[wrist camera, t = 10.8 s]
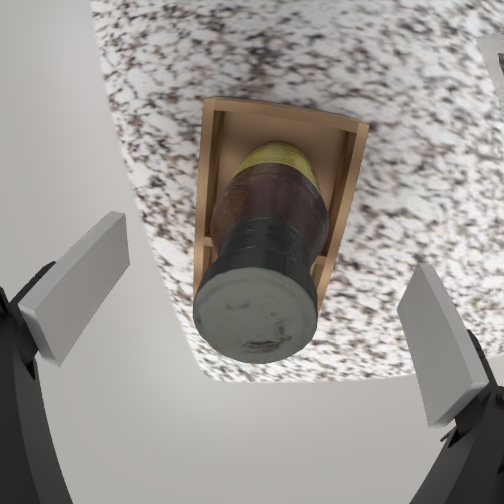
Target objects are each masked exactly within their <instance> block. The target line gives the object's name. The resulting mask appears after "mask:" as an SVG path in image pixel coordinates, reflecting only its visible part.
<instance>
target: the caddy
mask: <svg viewBox="0 0 504 504" xmlns="http://www.w3.org/2000/svg"><path fill="white" fill-rule="evenodd" d="M368 130H369V125H368V124H366V123H364V122H362V121H360V120H358V119H356V118H353V117H349V116H344V115H340V114H335V113H330V112H326V111H321V110H316V109H310V108H305V107H299V106H293V105H287V104H281V103H274V102H267V101H260V100H252V99H243V98H234V97H223V96H217V97H211V98H205V99H204V108H203V119H202V130H201V142H200V155H199V169H198V184H197V202H196V222H195V247H194V286H193V302H194V298H195V295H196V292H197V289H198V287H199V284H200V282H201V280H202V278H203V275H204V273H205V272H206V270H207V268H208V267H209V266H210V265H211V264H212V263H213V262H214V261H215V260H217V258H218V256H217V254H216V253H215V251H214V248H213V244H212V241H211V233H210V222H211V217H212V214H213V210H214V207H215V205H216V203H217V201H218V200H219V198H220V197H221V195H222V192H223V190H224V188H225V186H226V185H227V183H228V182H229V181H230V179H231V178H232V176H233V175H234V174H235V172H236V171H237V170H238V168H239V167H240V166H241V164H242V163H243V162H244V160H245V159H246V158H247V156H248V155H249V154H250V153H251V152H252V151H253V150H255V149H256V148H257V147H260V146H262V145H264V144H268V143H272V142H280V143H287V144H290V145H292V146H294V147H296V148H298V149H299V150H301V151H302V152H303V153H304V154H305V155H306V156H307V158H308V159H309V160H310V162H311V164H312V166H313V169H314V172H315V175H316V178H317V181H318V183H319V186H320V190H321V193H322V196H323V199H324V202H325V205H326V208H327V212H328V217H329V232H328V237H327V240H326V243H325V246H324V247H323V249H322V251H321V252H320V254H319V255H318V257H317V258H316V260H315V261H314V263H313V265H312V266H311V270H310V275H311V277H312V279H313V281H314V284H315V287H316V291H317V295H318V314H319V311H320V308H321V305H322V302H323V299H324V296H325V292H326V289H327V286H328V283H329V280H330V277H331V273H332V270H333V267H334V263H335V260H336V257H337V253H338V250H339V247H340V243H341V240H342V236H343V232H344V229H345V225H346V222H347V218H348V214H349V210H350V207H351V203H352V199H353V195H354V191H355V187H356V183H357V179H358V175H359V170H360V166H361V162H362V158H363V153H364V149H365V144H366V139H367V135H368Z"/></svg>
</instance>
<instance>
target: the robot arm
mask: <svg viewBox="0 0 504 504" xmlns="http://www.w3.org/2000/svg"><path fill="white" fill-rule="evenodd" d="M129 265H130V261H129V252H128V242H127V232H126V218H125V213H120V212H113V211H110V212H109V213H108V214H107V215H106V216H105V217H104V218H103V219H101V220H100V221H99V222H98V223H97V224H96V225H95V226H94V227H93V228H92V229H90V231H88V232H87V233H86V234H85V235H84V236H83V237H82V238H81V239H80V240H79V241H78V242H77V243H76V244H75V245H73V246H72V247H71V248H70V249H69V250H68V251H67V252H66V253H65V254H64V255H63V256H62V257H61V258H60V259H59V260H58V261H57V262H55V261H53V262H51V263H49V264H47V265H46V266H44V267H43V268H42V269H41V270H40V271H39V272H38V273H37V274H36V275H35V277H33V278H32V279H31V280H30V281H29V283H27V284H26V285H25V286H24V287H23V288H22V289H21V290H20V292H19V293H18V294H17V295H16V296H15V297H14V298H13V299H12V300H11V302H10V303H9V302H8V300H7V297H6V295H5V292H4V290H3V288H1V287H0V504H73V502H72V500H71V497H70V495H69V492H68V489H67V486H66V484H65V481H64V478H63V475H62V472H61V469H60V466H59V463H58V459H57V456H56V452H55V449H54V445H53V442H52V438H51V434H50V430H49V426H48V422H47V417H46V413H45V408H44V403H43V398H42V393H41V387H40V381H39V374H38V369H37V362H36V359H35V357H34V356H35V354H36V353H37V351H38V350H39V352H40V354H41V356H42V358H43V360H44V361H46V362H48V363H50V364H52V365H55V366H57V367H60V366H61V364H62V362H63V361H64V360H65V358H66V356H67V355H68V353H69V352H70V350H71V348H72V347H73V345H74V344H75V342H76V341H77V339H78V338H79V336H80V334H81V333H82V332H83V330H84V328H85V327H86V326H87V324H88V323H89V321H90V320H91V318H92V317H93V315H94V314H95V312H96V311H97V309H98V308H99V306H100V305H101V304H102V302H103V301H104V299H105V298H106V297H107V295H108V294H109V292H110V291H111V290H112V288H113V287H114V285H115V284H116V282H117V281H118V280H119V279H120V277H121V276H122V275H123V273H124V272H125V270H126V269H127V268H128V266H129ZM397 312H398V315H399V318H400V321H401V324H402V327H403V331H404V334H405V337H406V340H407V344H408V347H409V350H410V354H411V357H412V361H413V364H414V368H415V371H416V375H417V379H418V382H419V387H420V391H421V394H422V399H423V403H424V407H425V412H426V416H427V421H428V425H429V428H439V427H446V426H447V425H448V424H449V423H450V422H451V421H452V420H453V419H454V418H455V422H456V426H455V427H454V428H453V429H452V430H451V431H449V432H448V433H447V434H446V435H445V436H444V437H443V438H442V439H441V440H440V441H441V442H442V441H444V440H445V439H446V438H447V440H446V442H445V444H444V446H443V448H442V450H441V452H440V454H439V456H438V458H437V459H436V461H435V463H434V465H433V466H432V468H431V470H430V472H429V473H428V475H427V477H426V478H425V480H424V482H423V483H422V485H421V487H420V488H419V490H418V491H417V493H416V494H415V496H414V497H413V499H412V501H411V502H410V503H409V504H504V387H503V386H498V385H497V383H496V380H495V378H494V376H493V373H492V371H491V368H490V366H489V364H488V361H487V359H486V358H485V355H484V352H483V350H481V349H482V348H481V346H480V344H479V342H478V339H477V338H476V337H475V336H474V334H473V333H472V332H471V331H470V330H469V329H466V328H465V326H464V324H463V322H462V320H461V318H460V316H459V314H458V312H457V310H456V308H455V306H454V304H453V302H452V300H451V298H450V296H449V294H448V293H447V291H446V289H445V287H444V285H443V284H442V282H441V280H440V278H439V276H438V275H437V273H436V271H435V269H434V268H433V266H432V265H430V264H425V263H420V262H418V264H417V266H416V268H415V271H414V273H413V275H412V277H411V280H410V282H409V284H408V286H407V288H406V290H405V293H404V295H403V297H402V299H401V301H400V303H399V305H398V307H397Z"/></svg>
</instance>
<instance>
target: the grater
mask: <svg viewBox="0 0 504 504" xmlns="http://www.w3.org/2000/svg"><path fill="white" fill-rule="evenodd" d="M501 33H504V31H501V32H497V33H493V34H490V35H486V36H482V37H478V38H475V40H476V42H477V45H478V47H479V49H480V52H481V54H482V56H483V59H484V61H485V64H486V66H487V69H488V72H489V74H490V77H491V80H492V83H493V86H494V88H495V91H496V95H497V98H498V101H499V104H500V107H501V111H502V114H503V118H504V74H503V72H502V69H501V66H500V64H499V56H498V53H504V34H501Z"/></svg>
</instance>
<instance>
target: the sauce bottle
mask: <svg viewBox="0 0 504 504" xmlns="http://www.w3.org/2000/svg"><path fill="white" fill-rule="evenodd" d="M328 232H329V217H328V212H327V208H326V205H325V202H324V199H323V196H322V193H321V190H320V186H319V183H318V181H317V178H316V175H315V172H314V169H313V166H312V164H311V162H310V160H309V159H308V158H307V156H306V155H305V154H304V153H303V152H302V151H301V150H299V149H298V148H296V147H294V146H292V145H290V144H287V143H280V142H272V143H268V144H264V145H262V146H260V147H257V148H256V149H255V150H253V151H252V152H251V153H250V154H249V155H248V156H247V158H246V159H245V160H244V162H243V163H242V164H241V166H240V167H239V168H238V170H237V171H236V172H235V174H234V175H233V176H232V178H231V179H230V181H229V182H228V183H227V185H226V186H225V188H224V190H223V192H222V195H221V197H220V198H219V200H218V201H217V203H216V205H215V207H214V210H213V214H212V217H211V222H210V233H211V241H212V244H213V248H214V251H215V253H216V254H217V256H218V258H217V260H215V261H214V262H213V263H212V264H211V265H210V266H209V267H208V268H207V270H206V272H205V273H204V275H203V278H202V280H201V282H200V284H199V287H198V289H197V292H196V295H195V298H194V302H193V320H194V323H195V326H196V328H197V330H198V332H199V334H200V335H201V337H202V338H203V339H205V340H206V341H207V342H208V344H209V345H210V346H211V347H212V348H213V349H214V350H216V351H217V352H218V353H220V354H222V355H224V356H226V357H229V358H231V359H234V360H237V361H240V362H244V363H253V364H267V363H272V362H276V361H280V360H283V359H285V358H288V357H290V356H292V355H293V354H295V353H297V352H299V351H300V350H302V349H303V348H304V347H305V346H306V345H307V344H308V343H309V342H310V341H311V340H312V338H313V335H314V334H315V332H316V328H317V321H318V320H317V319H318V295H317V291H316V287H315V284H314V281H313V279H312V277H311V275H310V270H311V266H312V265H313V263H314V261H315V260H316V258H317V257H318V255H319V254H320V252H321V251H322V249H323V247H324V246H325V243H326V240H327V237H328Z"/></svg>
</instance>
